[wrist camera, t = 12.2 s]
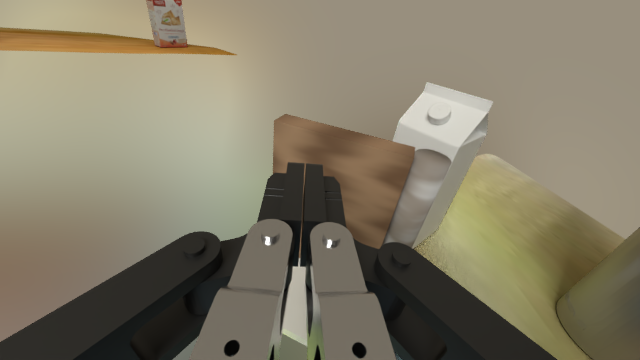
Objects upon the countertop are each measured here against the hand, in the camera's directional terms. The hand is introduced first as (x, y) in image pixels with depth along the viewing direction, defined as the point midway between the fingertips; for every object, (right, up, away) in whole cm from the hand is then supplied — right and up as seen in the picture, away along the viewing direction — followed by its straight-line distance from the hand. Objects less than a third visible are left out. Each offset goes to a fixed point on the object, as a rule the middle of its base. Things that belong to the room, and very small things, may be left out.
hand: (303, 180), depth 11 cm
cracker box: (-75, +68, +119) cm, 156 cm away
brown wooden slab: (+2, -9, +17) cm, 19 cm away
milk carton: (+13, -7, +26) cm, 29 cm away
